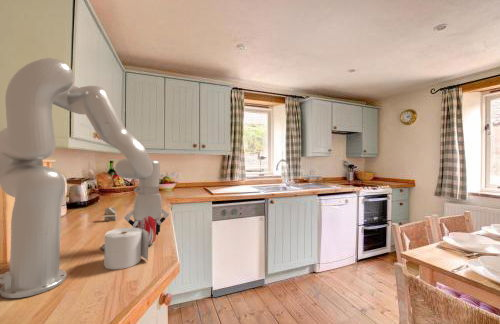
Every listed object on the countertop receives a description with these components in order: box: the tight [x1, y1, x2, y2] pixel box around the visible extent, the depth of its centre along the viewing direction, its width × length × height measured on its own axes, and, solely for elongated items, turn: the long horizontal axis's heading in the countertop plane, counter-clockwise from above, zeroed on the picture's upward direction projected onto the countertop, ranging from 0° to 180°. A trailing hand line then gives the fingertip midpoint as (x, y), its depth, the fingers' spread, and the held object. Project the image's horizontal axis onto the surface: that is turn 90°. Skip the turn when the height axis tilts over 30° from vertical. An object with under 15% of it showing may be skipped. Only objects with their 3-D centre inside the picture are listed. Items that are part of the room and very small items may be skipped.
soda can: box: [137, 214, 157, 246], centre depth 89 cm, size 7×7×12 cm
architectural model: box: [99, 206, 118, 222], centre depth 121 cm, size 3×7×7 cm, turn 110°
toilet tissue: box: [103, 226, 149, 270], centre depth 74 cm, size 11×12×10 cm
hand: (146, 234), depth 89 cm, fingers closed on soda can, 7 cm apart
